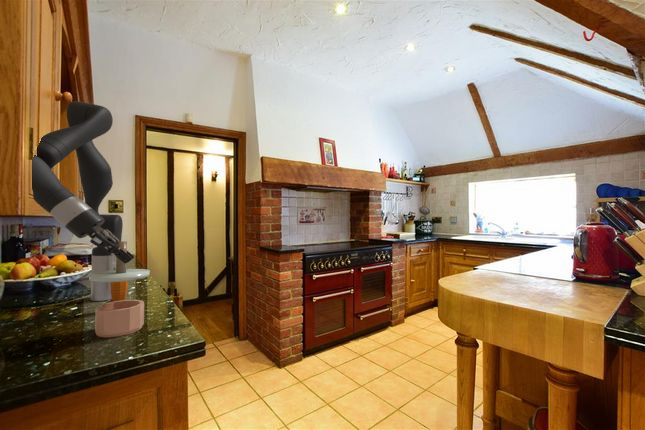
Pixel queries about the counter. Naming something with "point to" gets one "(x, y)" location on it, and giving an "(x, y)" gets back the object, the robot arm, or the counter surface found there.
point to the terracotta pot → (119, 318)
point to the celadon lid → (119, 271)
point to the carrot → (119, 290)
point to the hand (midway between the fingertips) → (130, 260)
